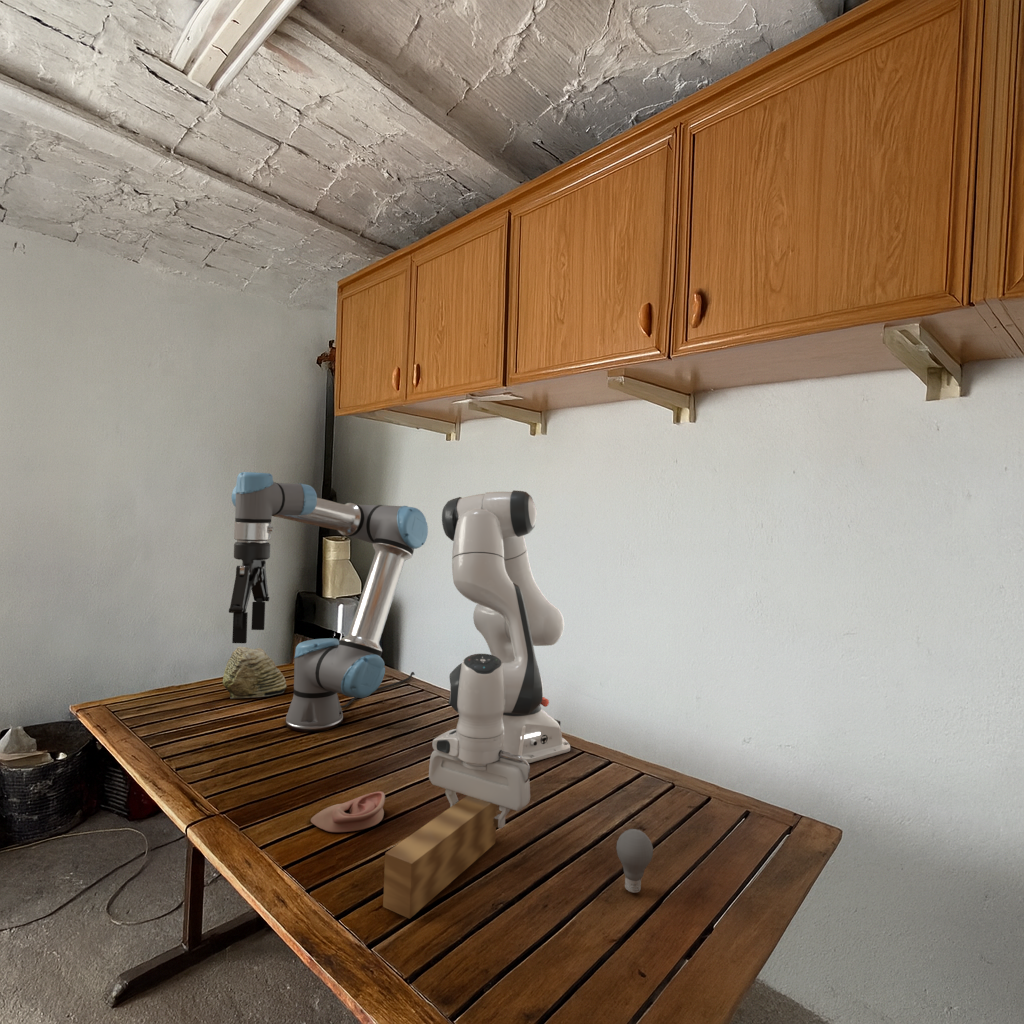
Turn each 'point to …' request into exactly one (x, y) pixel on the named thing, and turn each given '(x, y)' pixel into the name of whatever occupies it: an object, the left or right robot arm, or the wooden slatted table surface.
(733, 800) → the wooden slatted table surface
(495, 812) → the bar
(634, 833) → the light bulb
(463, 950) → the wooden slatted table surface
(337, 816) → the anatomical model
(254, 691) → the fossil
